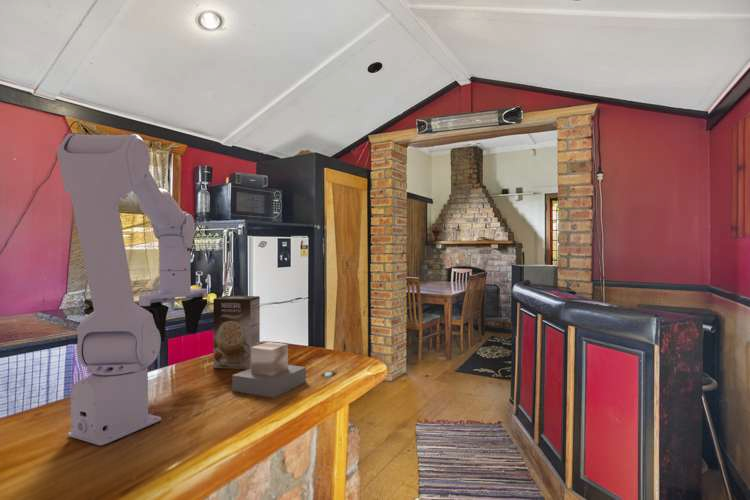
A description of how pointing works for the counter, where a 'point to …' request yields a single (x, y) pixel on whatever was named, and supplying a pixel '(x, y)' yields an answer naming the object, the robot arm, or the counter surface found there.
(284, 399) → the counter surface
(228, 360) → the coffee box
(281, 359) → the cube
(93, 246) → the robot arm
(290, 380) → the base
